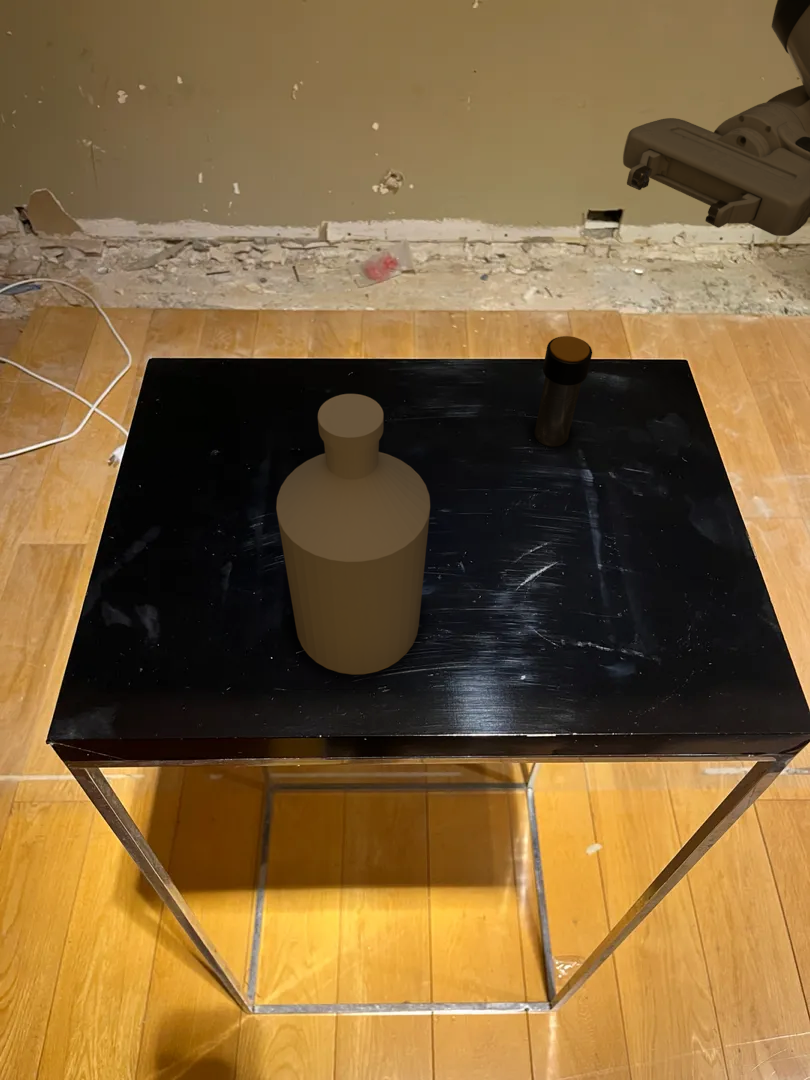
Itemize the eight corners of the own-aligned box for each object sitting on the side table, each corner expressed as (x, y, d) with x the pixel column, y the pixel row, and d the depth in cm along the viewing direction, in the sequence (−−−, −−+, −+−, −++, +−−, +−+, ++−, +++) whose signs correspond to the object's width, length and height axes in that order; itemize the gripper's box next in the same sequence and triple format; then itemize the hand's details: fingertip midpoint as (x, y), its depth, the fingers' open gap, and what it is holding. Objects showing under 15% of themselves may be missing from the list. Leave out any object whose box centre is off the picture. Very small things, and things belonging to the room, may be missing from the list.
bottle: (440, 656, 74) (462, 453, 55) (312, 693, 71) (287, 493, 52) (397, 558, 81) (403, 348, 62) (279, 588, 78) (247, 379, 59)
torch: (573, 425, 94) (594, 338, 85) (569, 452, 91) (590, 365, 82) (533, 418, 95) (550, 331, 86) (527, 445, 92) (544, 357, 83)
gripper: (677, 92, 89) (595, 128, 83) (852, 161, 79) (775, 207, 73) (661, 151, 94) (583, 189, 88) (825, 222, 84) (750, 271, 78)
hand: (672, 198), depth 80 cm, fingers open, 8 cm apart
